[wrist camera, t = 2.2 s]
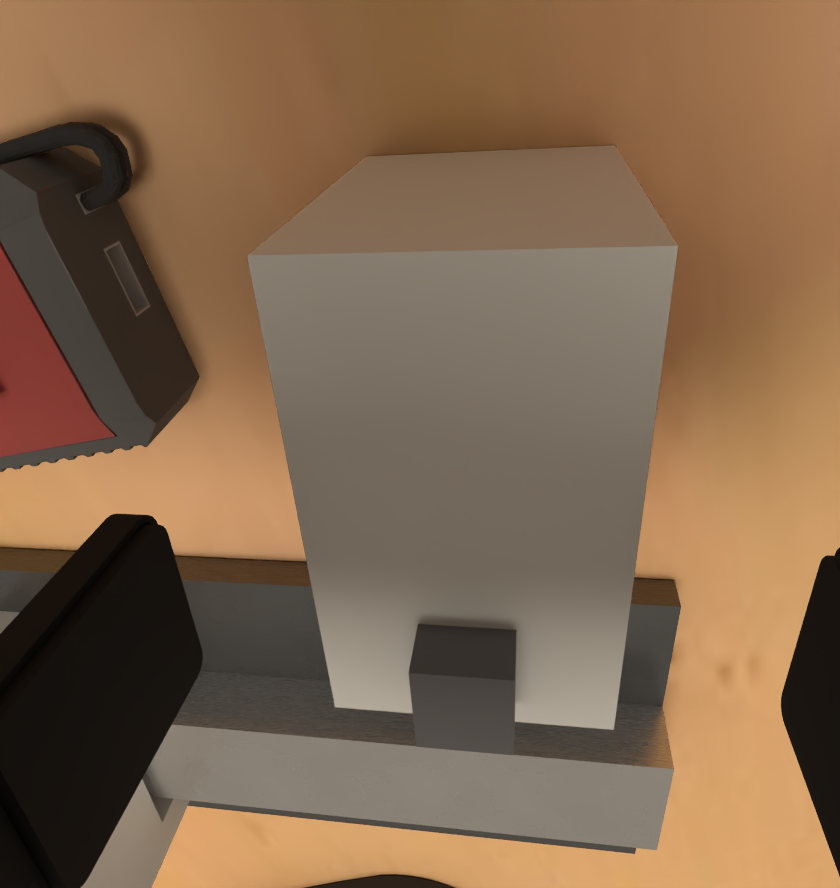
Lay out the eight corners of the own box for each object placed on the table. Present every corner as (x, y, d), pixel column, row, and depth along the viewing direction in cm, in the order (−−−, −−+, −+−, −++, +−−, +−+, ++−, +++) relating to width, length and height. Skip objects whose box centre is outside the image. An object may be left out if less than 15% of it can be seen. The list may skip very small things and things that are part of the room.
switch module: (366, 156, 14) (214, 282, 7) (615, 145, 13) (697, 274, 7) (398, 494, 19) (322, 763, 12) (586, 500, 18) (618, 790, 11)
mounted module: (-8, 610, 22) (-243, 869, 15) (136, 619, 21) (-47, 896, 15) (77, 767, 27) (-79, 1023, 20) (198, 780, 26) (79, 1050, 19)
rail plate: (-36, 545, 22) (-109, 613, 20) (674, 580, 19) (695, 667, 16) (82, 769, 28) (38, 843, 26) (631, 825, 25) (642, 915, 23)
